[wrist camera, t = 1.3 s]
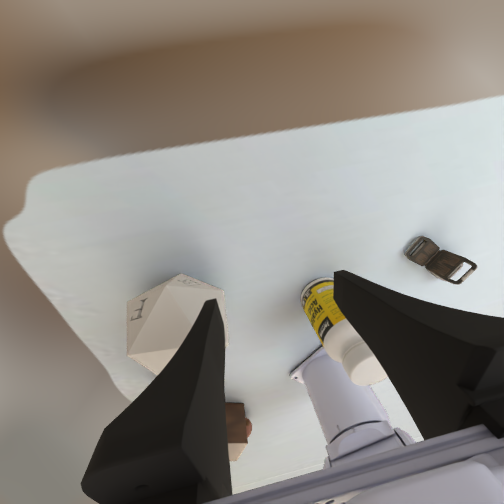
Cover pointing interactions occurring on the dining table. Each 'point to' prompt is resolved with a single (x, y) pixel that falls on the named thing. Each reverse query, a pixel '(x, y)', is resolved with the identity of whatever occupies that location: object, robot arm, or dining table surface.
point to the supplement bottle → (340, 334)
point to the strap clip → (439, 260)
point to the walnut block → (235, 429)
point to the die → (167, 319)
